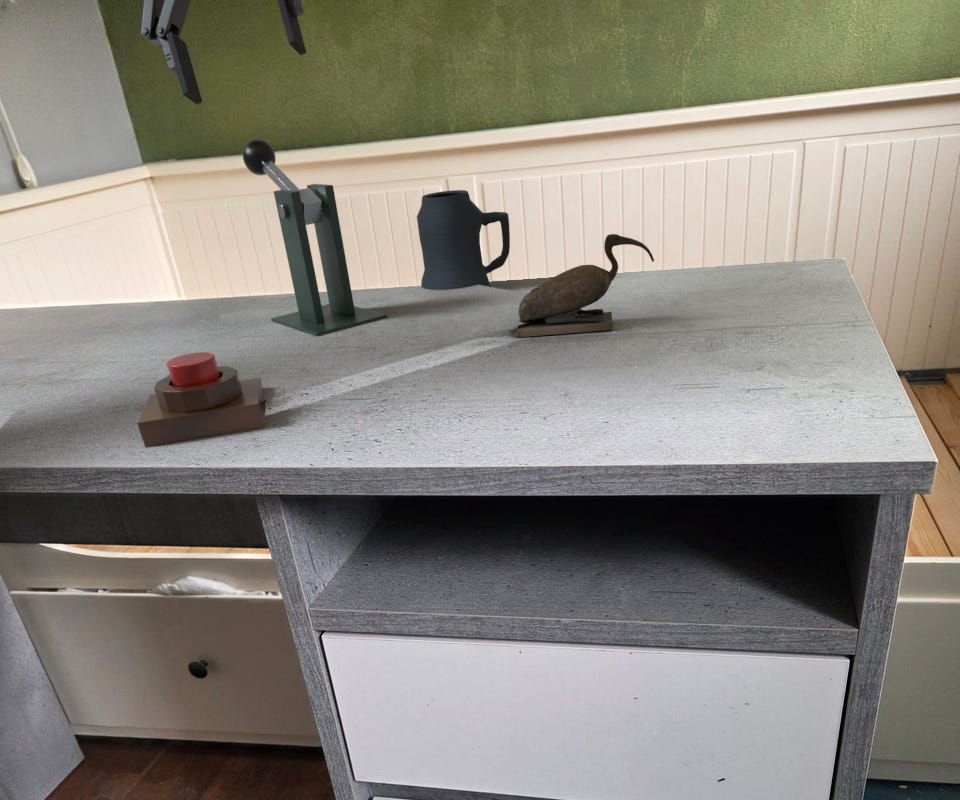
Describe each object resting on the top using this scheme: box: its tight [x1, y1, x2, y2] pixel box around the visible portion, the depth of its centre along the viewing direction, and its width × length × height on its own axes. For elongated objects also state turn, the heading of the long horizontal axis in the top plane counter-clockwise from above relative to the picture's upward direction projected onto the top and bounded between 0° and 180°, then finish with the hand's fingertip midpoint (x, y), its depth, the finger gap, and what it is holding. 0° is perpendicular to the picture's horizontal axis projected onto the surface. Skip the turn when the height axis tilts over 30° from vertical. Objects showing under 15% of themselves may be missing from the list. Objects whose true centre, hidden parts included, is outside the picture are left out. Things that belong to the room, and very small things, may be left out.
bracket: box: [270, 183, 388, 337], centre depth 98 cm, size 12×9×15 cm
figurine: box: [515, 233, 655, 338], centre depth 89 cm, size 14×4×9 cm, turn 84°
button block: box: [137, 365, 267, 448], centre depth 76 cm, size 10×8×4 cm
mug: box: [416, 189, 511, 291], centre depth 109 cm, size 12×9×11 cm
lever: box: [242, 138, 322, 226], centre depth 97 cm, size 14×4×4 cm, turn 36°
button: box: [166, 351, 220, 387], centre depth 75 cm, size 4×4×2 cm
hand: (244, 74), depth 97 cm, fingers open, 13 cm apart
